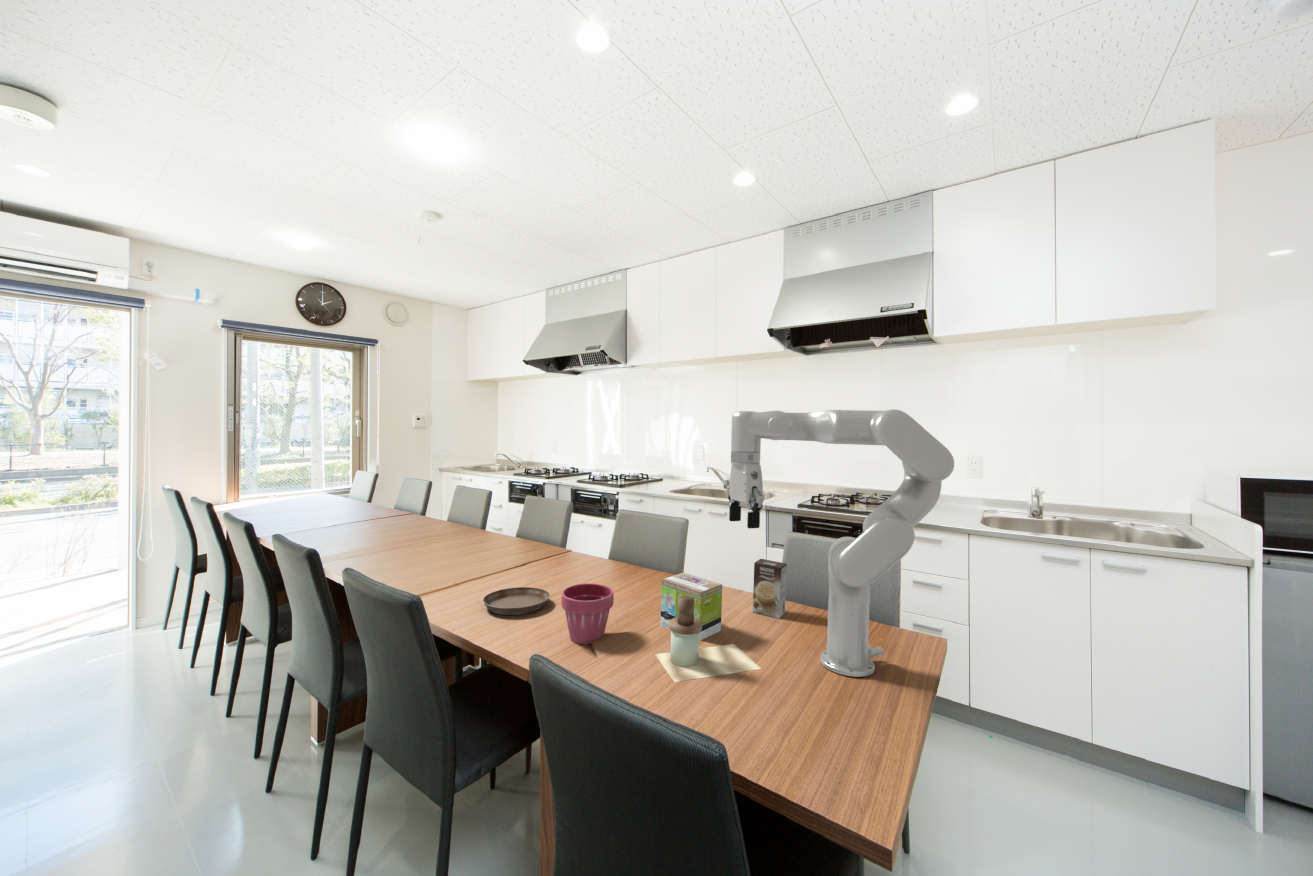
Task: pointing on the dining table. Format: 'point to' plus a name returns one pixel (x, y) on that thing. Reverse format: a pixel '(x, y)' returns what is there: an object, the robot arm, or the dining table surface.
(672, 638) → the jar
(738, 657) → the board
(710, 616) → the tea box
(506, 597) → the plant saucer
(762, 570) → the coffee box
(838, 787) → the dining table surface
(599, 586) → the plant pot
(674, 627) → the lid
